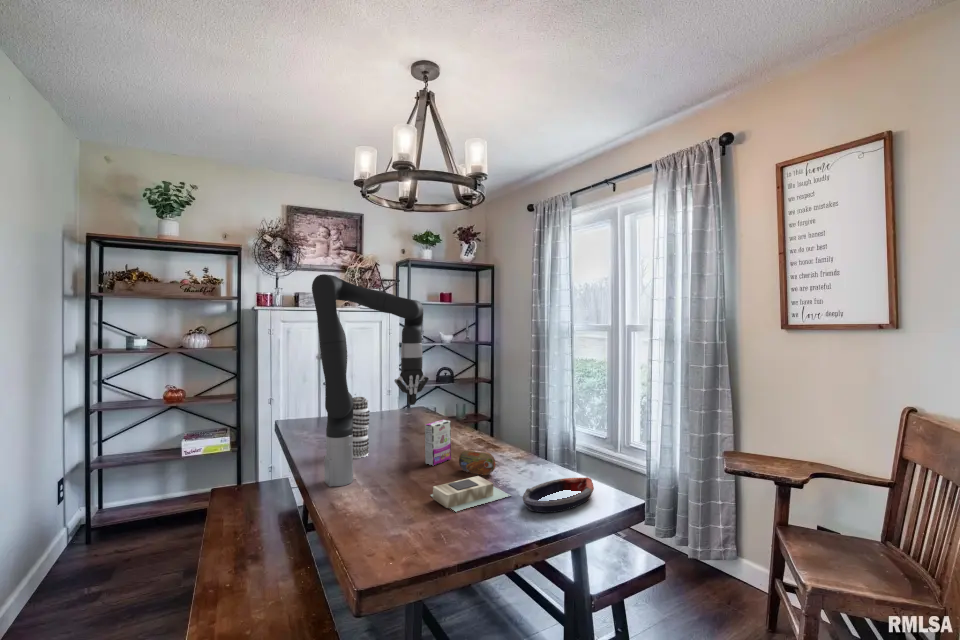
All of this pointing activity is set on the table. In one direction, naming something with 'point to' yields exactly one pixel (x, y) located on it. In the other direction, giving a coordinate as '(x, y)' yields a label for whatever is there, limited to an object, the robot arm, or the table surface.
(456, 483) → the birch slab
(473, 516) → the table surface
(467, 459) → the tin
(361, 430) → the decorative candle
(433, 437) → the candy bar box
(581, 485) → the dark oval ring
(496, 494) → the rubber mat
